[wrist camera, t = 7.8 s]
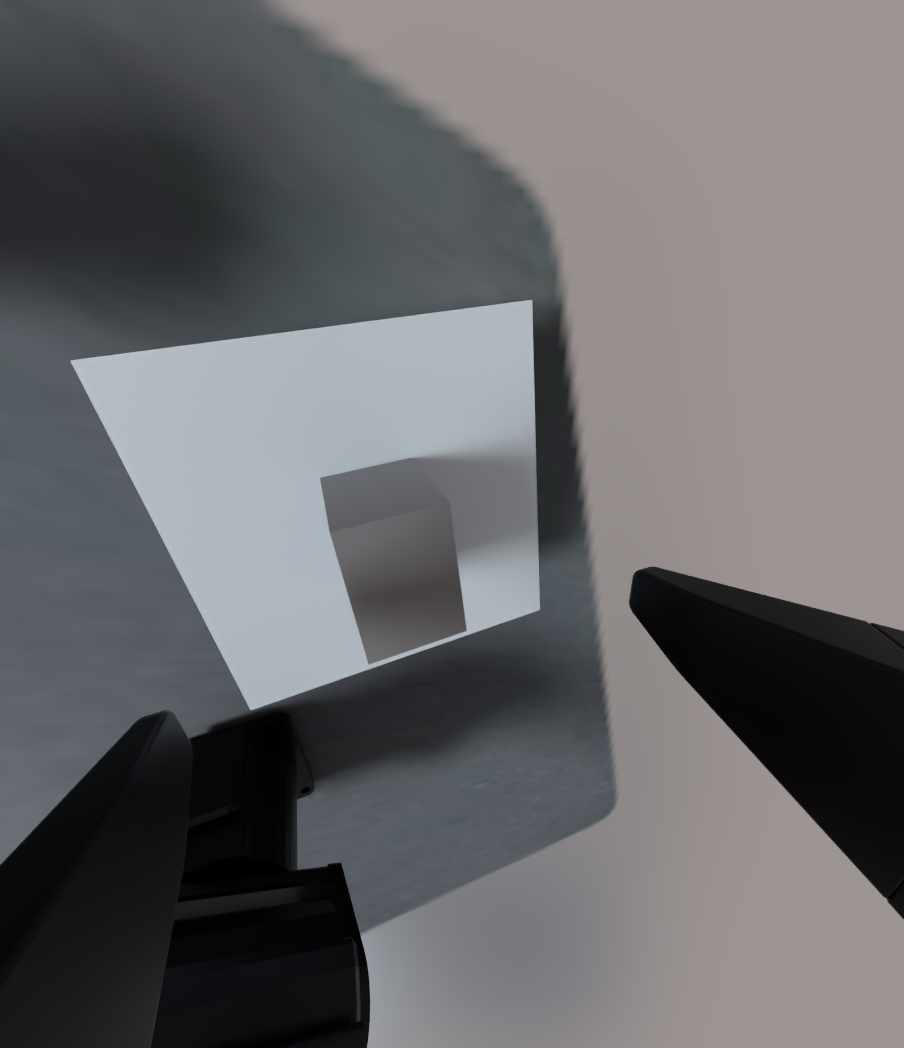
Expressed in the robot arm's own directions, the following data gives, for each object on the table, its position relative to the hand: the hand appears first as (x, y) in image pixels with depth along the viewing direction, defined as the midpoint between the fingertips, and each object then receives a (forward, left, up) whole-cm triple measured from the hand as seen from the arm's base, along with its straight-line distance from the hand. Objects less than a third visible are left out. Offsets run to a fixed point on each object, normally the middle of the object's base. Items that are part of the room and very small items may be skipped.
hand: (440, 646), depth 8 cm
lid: (0, 0, -7) cm, 7 cm away
